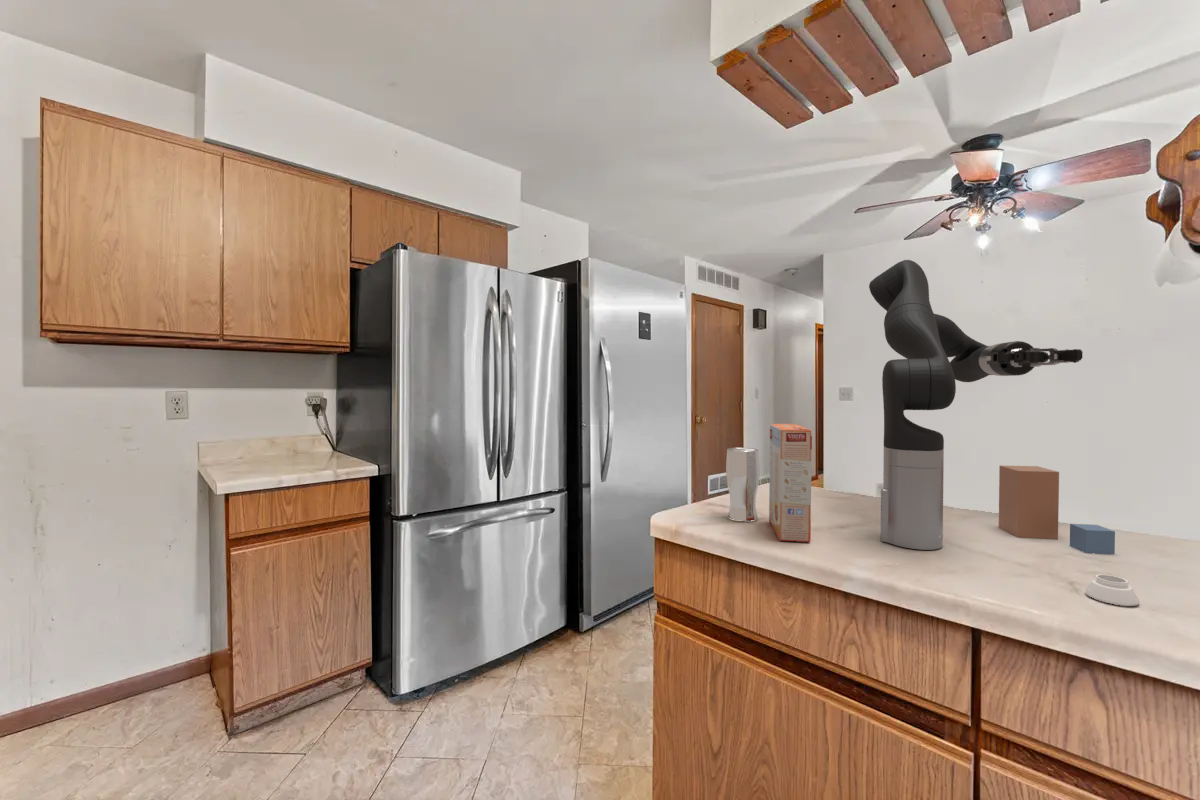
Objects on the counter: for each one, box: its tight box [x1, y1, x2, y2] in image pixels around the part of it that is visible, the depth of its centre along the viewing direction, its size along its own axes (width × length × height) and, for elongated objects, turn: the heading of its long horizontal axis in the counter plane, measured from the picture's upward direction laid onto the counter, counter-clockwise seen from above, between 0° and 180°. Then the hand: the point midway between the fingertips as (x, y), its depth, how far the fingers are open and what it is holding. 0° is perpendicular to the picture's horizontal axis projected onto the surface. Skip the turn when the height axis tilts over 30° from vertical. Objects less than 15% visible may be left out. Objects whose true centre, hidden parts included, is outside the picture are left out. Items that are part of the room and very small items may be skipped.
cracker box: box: [768, 423, 813, 543], centre depth 98 cm, size 14×6×21 cm, turn 168°
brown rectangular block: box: [998, 465, 1060, 540], centre depth 96 cm, size 6×6×12 cm
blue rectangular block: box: [1069, 523, 1116, 555], centre depth 86 cm, size 4×4×4 cm
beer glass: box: [725, 447, 761, 521], centre depth 108 cm, size 7×7×15 cm
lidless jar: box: [1084, 573, 1140, 607], centre depth 67 cm, size 5×3×5 cm
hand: (1053, 355), depth 98 cm, fingers open, 8 cm apart
